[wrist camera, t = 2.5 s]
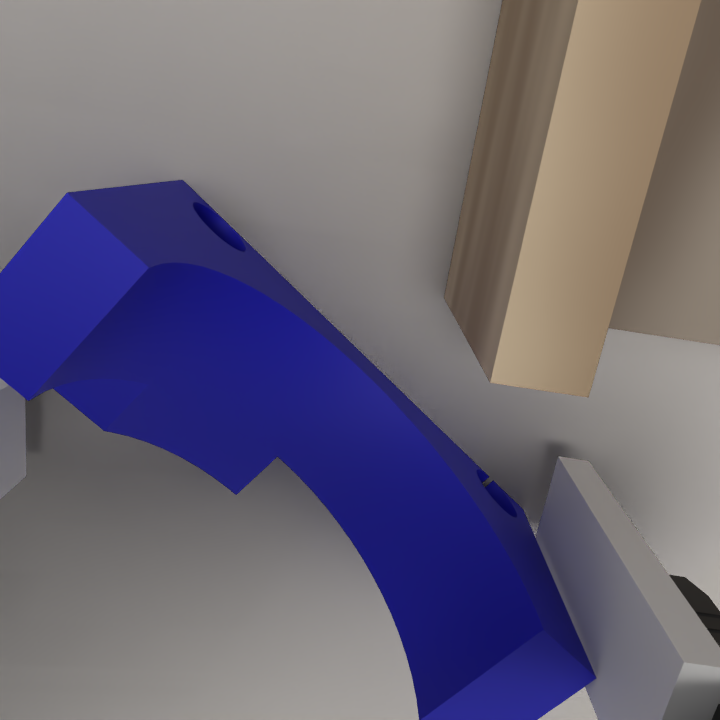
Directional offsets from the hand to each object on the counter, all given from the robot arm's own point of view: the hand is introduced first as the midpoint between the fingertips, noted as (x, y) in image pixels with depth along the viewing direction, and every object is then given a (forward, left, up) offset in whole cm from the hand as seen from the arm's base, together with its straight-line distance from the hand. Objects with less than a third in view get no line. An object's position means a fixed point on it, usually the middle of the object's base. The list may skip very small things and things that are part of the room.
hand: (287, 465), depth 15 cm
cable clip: (0, +1, -2) cm, 2 cm away
